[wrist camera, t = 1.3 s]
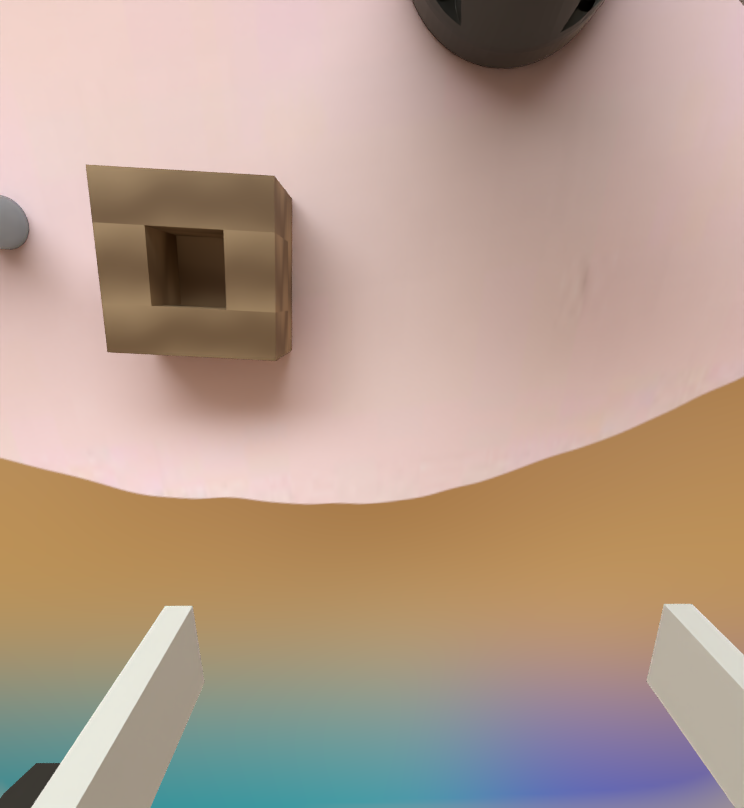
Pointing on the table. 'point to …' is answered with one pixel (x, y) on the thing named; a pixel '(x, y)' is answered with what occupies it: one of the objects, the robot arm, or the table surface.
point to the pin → (12, 224)
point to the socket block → (193, 262)
